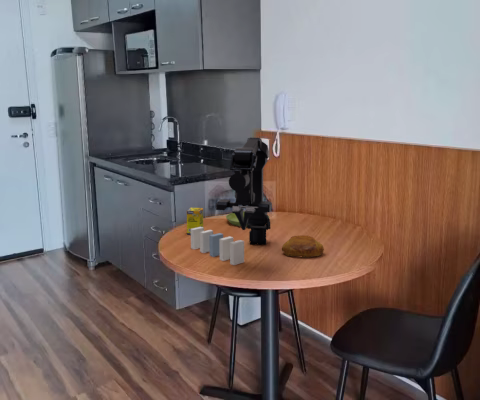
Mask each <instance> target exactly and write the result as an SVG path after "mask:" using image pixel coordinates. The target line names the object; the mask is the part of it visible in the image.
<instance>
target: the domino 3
mask: <svg viewBox="0 0 480 400" xmlns="http://www.w3.org/2000/svg"><path fill="white" fill-rule="evenodd" d="M221 238H224V233H221V232H219V233H213V235H209V240H210V252H209V256H210V257H212V258H215V257H218V256H219V257H220V249H219V239H221Z"/></svg>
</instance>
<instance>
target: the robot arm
mask: <svg viewBox="0 0 480 400" xmlns="http://www.w3.org/2000/svg"><path fill="white" fill-rule="evenodd" d="M268 146H269V145H268V144H267V143H265V142H264V141H262V138H260V137H248V138H247V140H246V142H245V143H244V145H243V146H242V147H238V148H235V149H234V152H232V154H231V161H230V166H229V171H234V173H233V174H231V176H230V177H229V179H228V185H229V187H230V188H231V190H233V191H234V199H235V202H234V201H233V202H232V201H231V199H224V198H222V199H219V200H218V201H216V204H215V210H216V211H225V210H227V208H228V209H231V208H232V211H231V213H235V215H236V217H237V219H238V220H239V223H240V225H241V230H242V231H245V230H246V228H247V229H248V230H249V232H248V233H249V234H248V236H249V238H248V239H249V243H250V245H264V246H265V245H267V241H268V240H267V231H268V230H270V229H271V219H270V218H269V217H270V215H269V214H268V213H271V211H272V208H273V207H272V206H273V205H272V202H271V201H267V200H265V201H264V168H265V166H266V164H267V162H268V160H269V158H270V150H269V149H270V148H269V147H268ZM244 209H245V210H244ZM243 211H245V212H244V217H243ZM246 226H247V227H246Z"/></svg>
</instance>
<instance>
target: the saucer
mask: <svg viewBox="0 0 480 400" xmlns="http://www.w3.org/2000/svg"><path fill="white" fill-rule="evenodd" d="M245 211H246V210H243V217H244V212H245ZM225 217H226V220H227V221H228V222H229V223H230V224H231V225H233V226H237V227H241V225H240V223H239V220H238V219H237V217H236V215H235V213H232V212H231V213H228V214H226V216H225ZM269 219H270V216H269ZM246 228H247V226H246Z"/></svg>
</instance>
